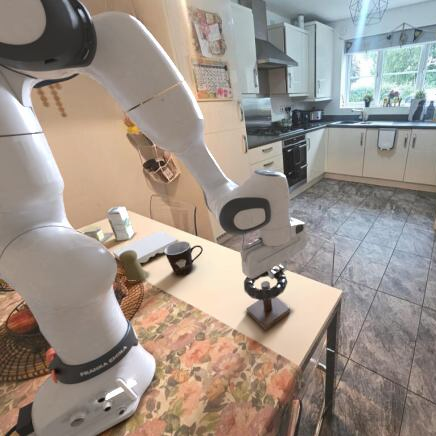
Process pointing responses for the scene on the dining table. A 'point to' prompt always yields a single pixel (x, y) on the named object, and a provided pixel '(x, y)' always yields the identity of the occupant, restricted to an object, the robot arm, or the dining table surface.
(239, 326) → the dining table surface
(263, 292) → the ring
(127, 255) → the olive flared cylinder
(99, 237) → the stacked layers on plate
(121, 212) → the syrup box
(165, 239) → the food packaging
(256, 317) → the peg stand
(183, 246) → the coffee mug
